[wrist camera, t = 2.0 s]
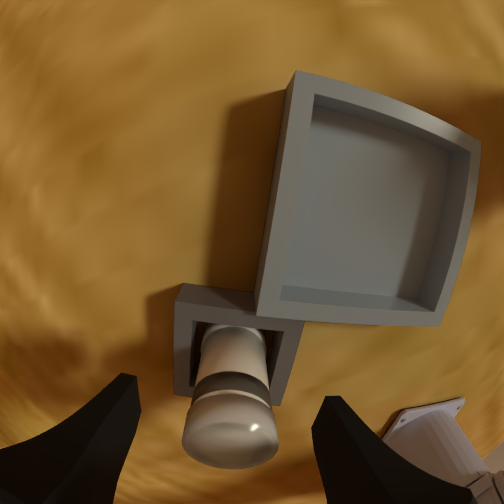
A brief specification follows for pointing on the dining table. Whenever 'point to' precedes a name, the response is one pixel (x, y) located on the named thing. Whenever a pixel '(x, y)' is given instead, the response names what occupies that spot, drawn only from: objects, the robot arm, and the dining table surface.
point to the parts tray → (364, 209)
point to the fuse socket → (234, 314)
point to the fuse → (231, 401)
